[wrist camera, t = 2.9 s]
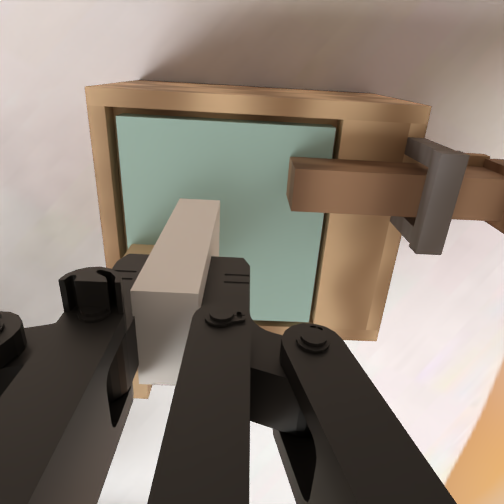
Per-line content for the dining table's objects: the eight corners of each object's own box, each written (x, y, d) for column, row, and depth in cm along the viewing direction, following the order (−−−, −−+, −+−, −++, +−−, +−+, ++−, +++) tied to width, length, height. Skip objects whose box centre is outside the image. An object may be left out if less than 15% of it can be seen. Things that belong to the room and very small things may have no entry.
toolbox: (150, 259, 40) (89, 378, 25) (138, 80, 33) (42, 91, 18) (384, 270, 41) (465, 392, 26) (423, 96, 34) (568, 121, 18)
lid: (139, 303, 30) (81, 428, 20) (122, 113, 24) (28, 148, 14) (306, 311, 31) (335, 436, 20) (331, 124, 25) (391, 167, 14)
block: (285, 202, 25) (291, 223, 22) (290, 148, 24) (297, 162, 20) (487, 211, 25) (524, 234, 22) (504, 159, 24) (546, 175, 21)
